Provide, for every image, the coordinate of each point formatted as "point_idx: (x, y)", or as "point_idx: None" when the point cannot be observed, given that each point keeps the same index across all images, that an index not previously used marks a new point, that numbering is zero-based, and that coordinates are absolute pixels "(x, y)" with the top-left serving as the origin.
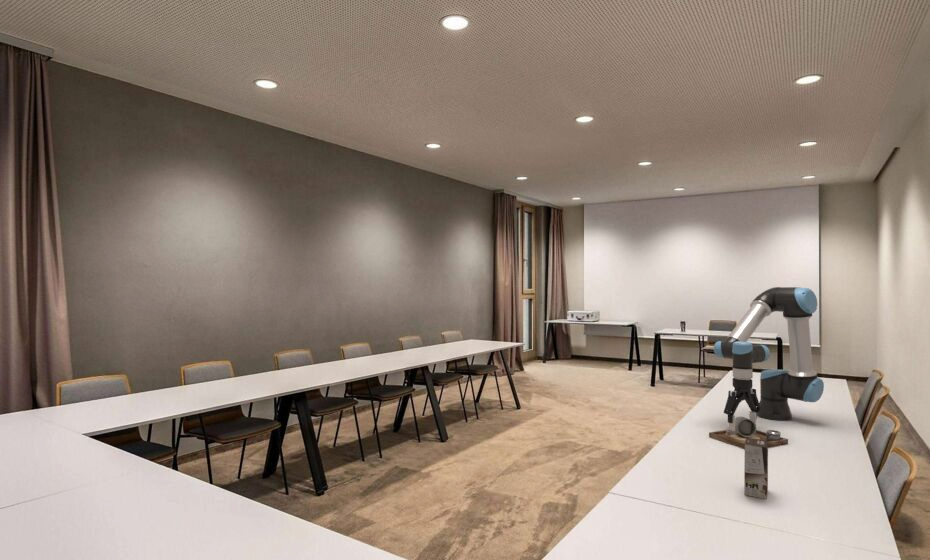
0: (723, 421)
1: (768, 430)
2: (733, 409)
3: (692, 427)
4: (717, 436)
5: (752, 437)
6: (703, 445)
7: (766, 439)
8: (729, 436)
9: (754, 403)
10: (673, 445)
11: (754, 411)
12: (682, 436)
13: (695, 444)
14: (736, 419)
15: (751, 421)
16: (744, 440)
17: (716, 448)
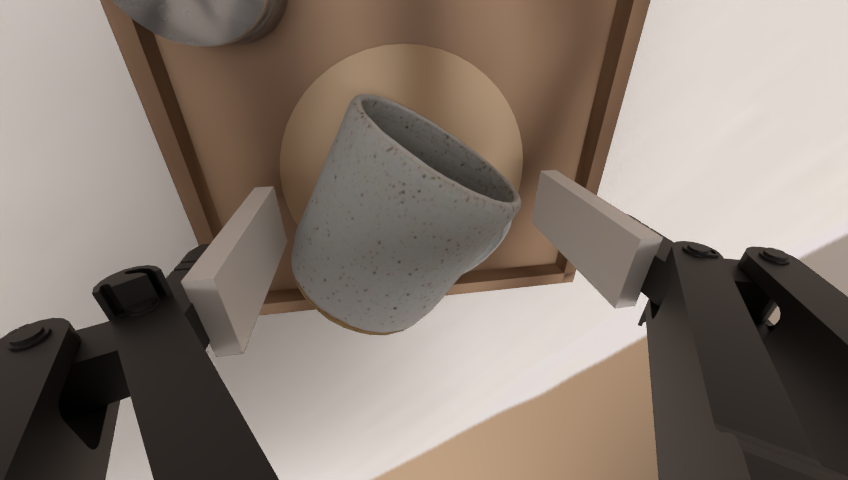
0: None
1: (200, 31)
2: (738, 303)
3: (475, 394)
4: None
5: None
6: (736, 158)
7: (273, 29)
8: None
9: (68, 475)
10: (831, 212)
11: (187, 316)
12: None
13: (745, 188)
14: (446, 289)
15: (366, 177)
16: (496, 87)
17: (750, 77)
